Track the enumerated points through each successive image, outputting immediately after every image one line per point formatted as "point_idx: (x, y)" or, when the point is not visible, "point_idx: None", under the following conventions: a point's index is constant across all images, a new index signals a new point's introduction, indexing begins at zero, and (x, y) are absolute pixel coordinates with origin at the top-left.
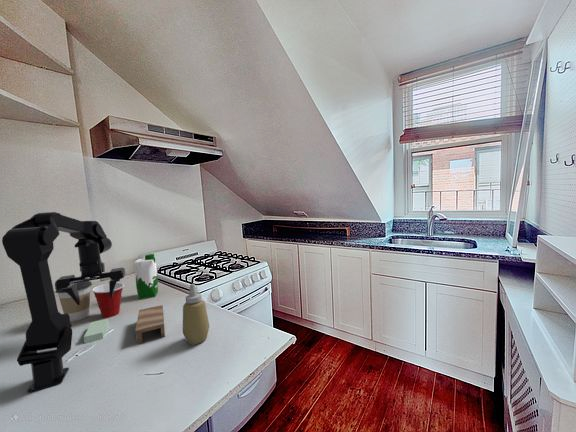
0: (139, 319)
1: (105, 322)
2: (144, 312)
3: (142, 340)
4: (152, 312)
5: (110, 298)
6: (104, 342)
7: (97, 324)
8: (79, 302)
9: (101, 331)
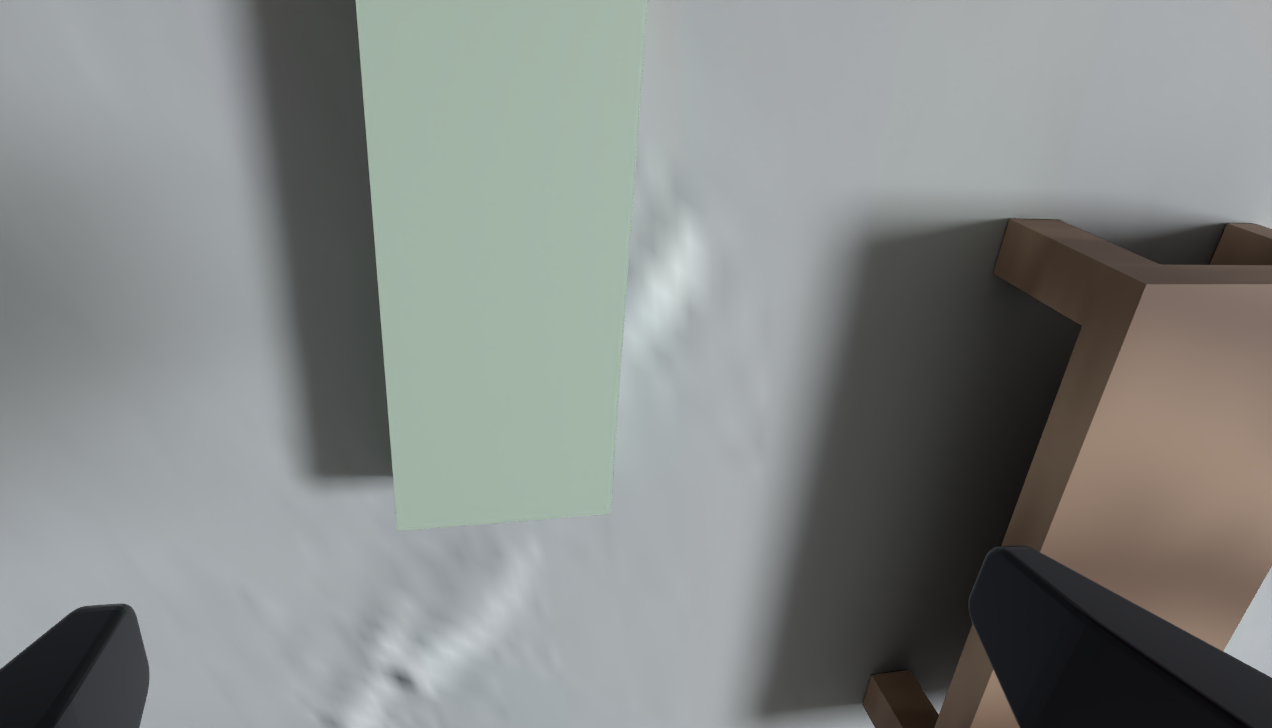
0: None
1: (619, 164)
2: (1152, 440)
3: (911, 687)
4: (1210, 495)
5: (977, 628)
6: (617, 555)
7: (497, 167)
8: (114, 693)
9: (595, 482)
